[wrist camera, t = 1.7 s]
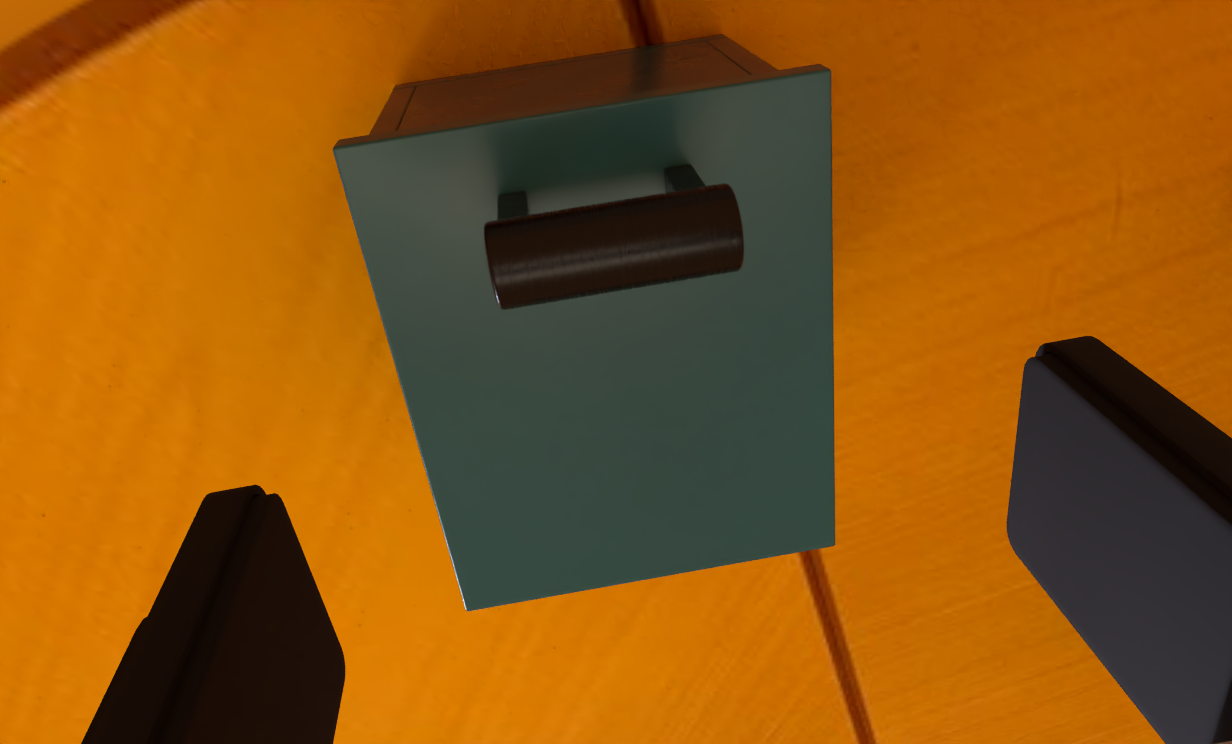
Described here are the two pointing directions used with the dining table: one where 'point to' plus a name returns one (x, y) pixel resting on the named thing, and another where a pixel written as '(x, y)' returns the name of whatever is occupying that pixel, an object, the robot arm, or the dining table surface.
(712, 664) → the dining table surface
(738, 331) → the box lid
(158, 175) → the dining table surface
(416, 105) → the teal box
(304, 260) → the dining table surface
